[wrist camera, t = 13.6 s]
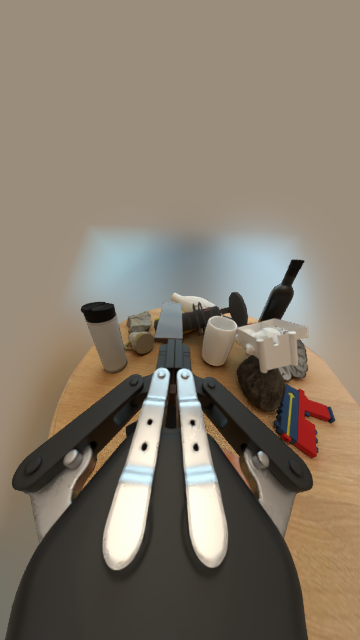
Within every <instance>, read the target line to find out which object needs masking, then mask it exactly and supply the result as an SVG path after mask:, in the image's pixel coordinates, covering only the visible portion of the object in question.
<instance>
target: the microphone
mask: <svg viewBox="0 0 360 640" xmlns="http://www.w3.org/2000/svg"><path fill="white" fill-rule="evenodd" d="M199 305H200V307H199ZM197 306H198V310H196V308H195V307H196V306H195V305H194V303H193V306H192V307H193V311H191V312H190V311H189V312H186V313H183V314H182V327H183V332H185V331H189V330H190V331H193V330H194V329H197V330H198V333H199V336H201V329H200V328H203V331H204V333H203V334H205V330H206V326H207V323H208V320H209V319H210V318H211V317H214V316H221V313H222V314H226V313H230V314H231V317H232V320H233V321H234V322H235V323H236V324H237V328H238V327H242V326H246V325H247V320H248V315H247V308H246V305H245V303H244V300H243V298H242V296H241V295H240V294H239V293H238V292H233V293H231V295H230V297H229V307H228V308H224V309H219V307H217V306H213V307H206V308H205V309H203V308H202V305H201V303H200V302H198V305H197ZM203 306H204V305H203ZM200 308H201V309H200ZM158 321H159V319H157V320H155V322H154V328H155V331H156V329H157V325H158ZM204 327H205V329H204ZM195 331H196V330H194V332H195ZM198 333H197V334H198Z"/></svg>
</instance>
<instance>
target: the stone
mask: <svg viewBox="0 0 360 640" xmlns="http://www.w3.org/2000/svg"><path fill="white" fill-rule="evenodd" d="M150 317H151V315H150V314H149V313H148V312H143V313H140V314H137V315H133V316H129V317H128V321H127V325H128V326H130V329H129V333H133V332H137V333H139V332H147V331H148V330H149V328H150V325H152V324H151V321H150Z"/></svg>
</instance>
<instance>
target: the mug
mask: <svg viewBox="0 0 360 640" xmlns="http://www.w3.org/2000/svg"><path fill="white" fill-rule="evenodd" d="M128 339H129V341H130V342H128V343H126V344H125V346H124V348H125V349H126V350H135V351H136V352H138V353H140V354H143V353H147V352H149V351H150V350H151V349H152V347H153V344H154V338H153V336H152V335H151V334H150V333H148V332H139V333H137V332H133V333H131V334H130V335H129V337H128ZM128 344H132V347H130V348H127V345H128Z"/></svg>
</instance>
